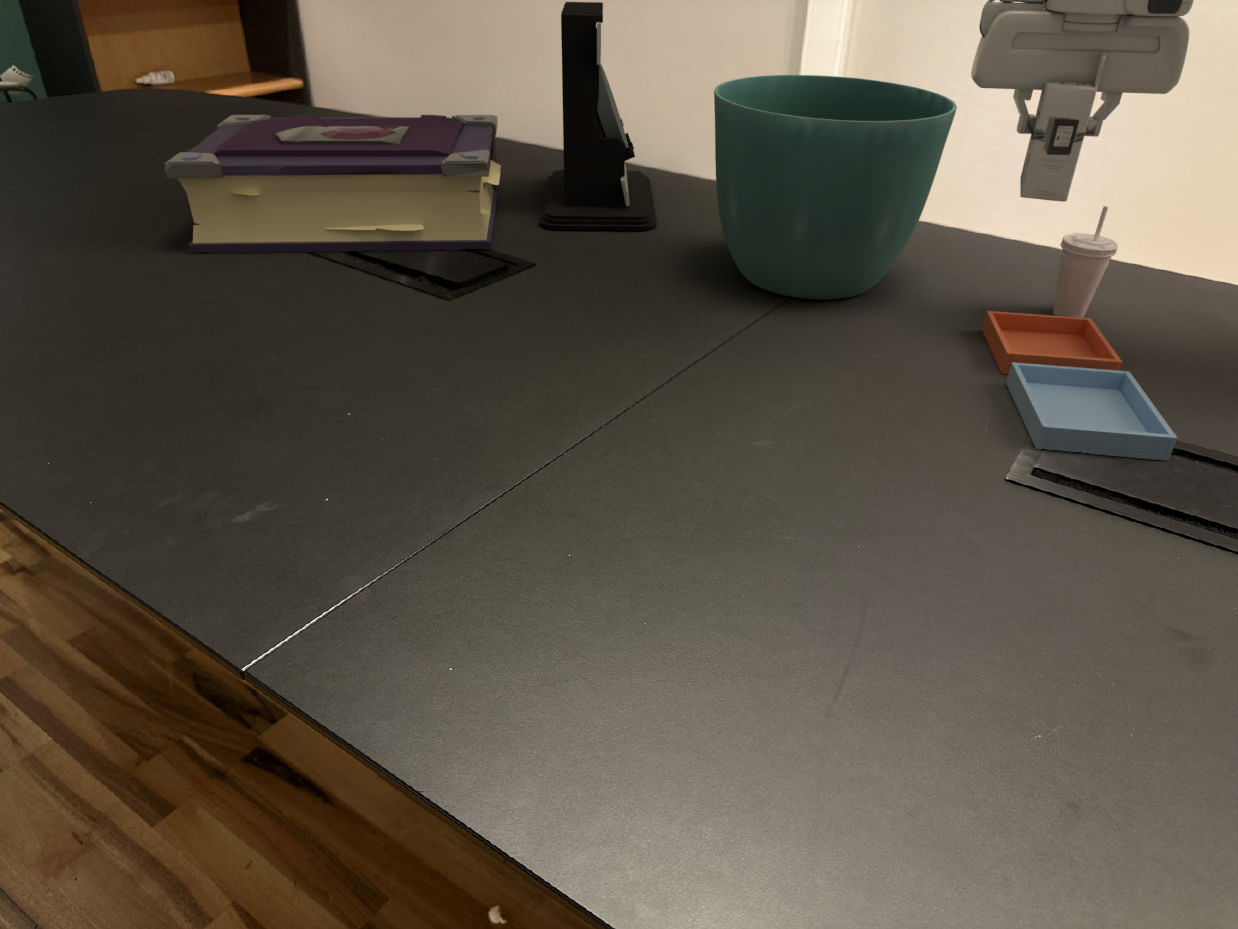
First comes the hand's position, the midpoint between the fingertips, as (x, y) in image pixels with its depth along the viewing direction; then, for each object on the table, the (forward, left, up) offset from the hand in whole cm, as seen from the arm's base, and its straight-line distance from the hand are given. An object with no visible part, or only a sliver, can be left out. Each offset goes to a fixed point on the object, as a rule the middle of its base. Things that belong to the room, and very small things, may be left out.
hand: (1057, 134), depth 98 cm
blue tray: (-3, +21, -24) cm, 32 cm away
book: (+95, -28, -24) cm, 101 cm away
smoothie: (-9, -8, -24) cm, 27 cm away
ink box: (0, 0, -6) cm, 6 cm away
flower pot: (+24, -15, -24) cm, 37 cm away
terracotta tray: (-3, +6, -24) cm, 25 cm away
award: (+59, -44, -24) cm, 77 cm away
